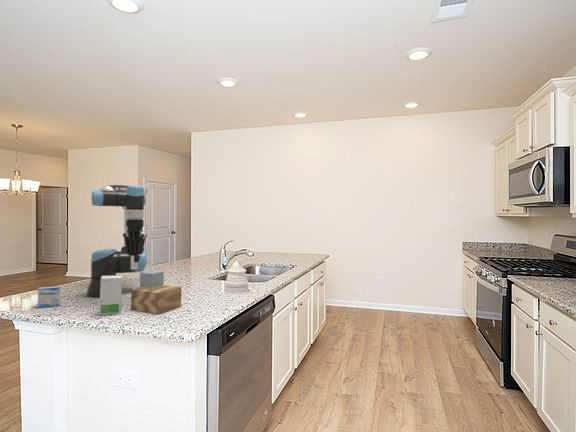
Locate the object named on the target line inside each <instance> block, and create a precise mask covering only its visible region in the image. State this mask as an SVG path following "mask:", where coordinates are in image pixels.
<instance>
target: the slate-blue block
mask: <svg viewBox="0 0 576 432" xmlns="http://www.w3.org/2000/svg"><path fill="white" fill-rule="evenodd" d="M139 273H140V275H139V276H140V277H139V278H140V279H139V287H140V288H142V289H149V290H153V289H157V288H161V287H163V285H164V273H165V271H159V270H149V271H148V270H147V271H142V272H139Z"/></svg>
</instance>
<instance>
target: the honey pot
mask: <svg viewBox="0 0 576 432" xmlns="http://www.w3.org/2000/svg"><path fill="white" fill-rule="evenodd" d="M242 262H243V259H242V258H237V261H234V262H233V264H231V267H230V269H228V273H227V276H226V279H225V282H224V283H225V284H224V292H225V293H227V294H232V295H233V294H234V295H235V294H236V293H240V294H244V293H243V292H246V293H248V292H249V280H248V277H247V274H246V272H247V269H245V268H244V267H243V265H242ZM247 291H248V292H247Z"/></svg>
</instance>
